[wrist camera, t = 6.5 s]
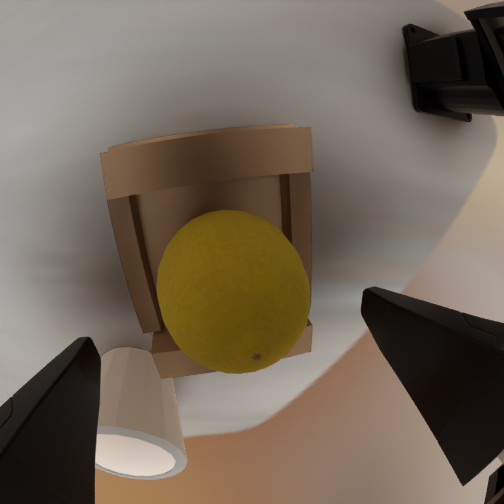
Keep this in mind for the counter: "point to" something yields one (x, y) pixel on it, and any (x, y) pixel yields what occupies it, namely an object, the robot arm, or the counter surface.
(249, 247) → the lemon
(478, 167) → the counter surface
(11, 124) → the counter surface
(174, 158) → the cradle
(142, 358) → the shot glass
